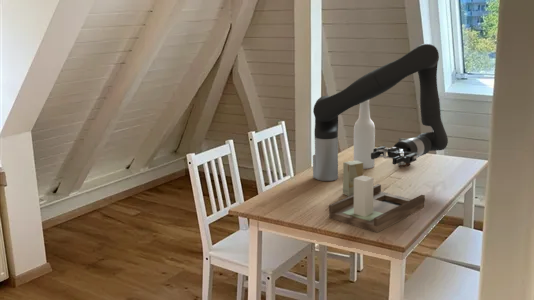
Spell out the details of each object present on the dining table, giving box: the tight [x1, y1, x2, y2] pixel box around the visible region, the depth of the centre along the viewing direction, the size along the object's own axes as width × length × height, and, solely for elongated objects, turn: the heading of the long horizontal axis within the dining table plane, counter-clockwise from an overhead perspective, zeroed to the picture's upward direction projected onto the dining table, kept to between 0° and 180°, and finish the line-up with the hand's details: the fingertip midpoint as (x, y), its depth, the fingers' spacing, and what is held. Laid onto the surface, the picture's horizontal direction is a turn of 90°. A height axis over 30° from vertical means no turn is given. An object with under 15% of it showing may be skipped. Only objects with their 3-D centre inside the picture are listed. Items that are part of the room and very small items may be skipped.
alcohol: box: [353, 99, 376, 170], centre depth 239 cm, size 9×9×30 cm
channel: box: [328, 183, 426, 233], centre depth 190 cm, size 19×28×4 cm
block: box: [354, 174, 375, 217], centre depth 183 cm, size 4×4×12 cm
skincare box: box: [342, 160, 364, 197], centre depth 208 cm, size 6×4×12 cm
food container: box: [397, 137, 411, 168], centre depth 243 cm, size 12×6×10 cm, turn 168°
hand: (382, 158), depth 188 cm, fingers open, 8 cm apart
